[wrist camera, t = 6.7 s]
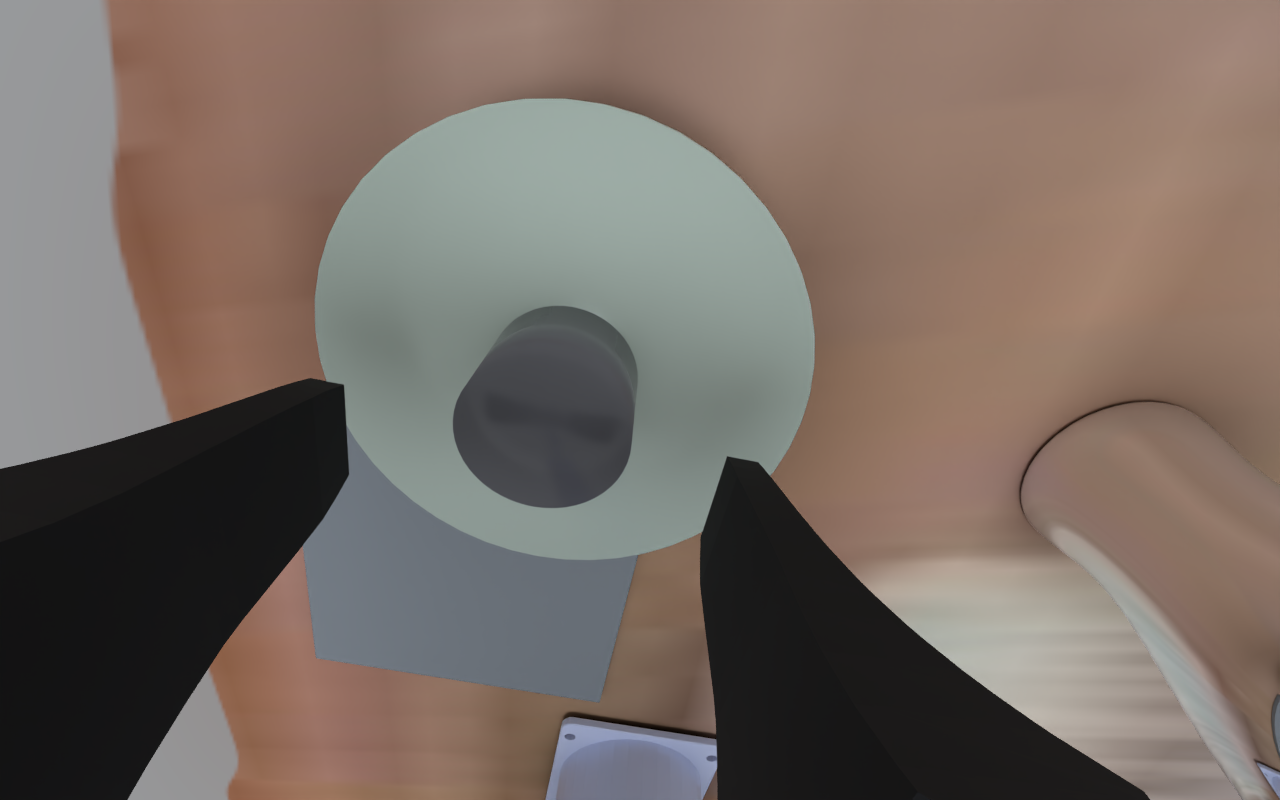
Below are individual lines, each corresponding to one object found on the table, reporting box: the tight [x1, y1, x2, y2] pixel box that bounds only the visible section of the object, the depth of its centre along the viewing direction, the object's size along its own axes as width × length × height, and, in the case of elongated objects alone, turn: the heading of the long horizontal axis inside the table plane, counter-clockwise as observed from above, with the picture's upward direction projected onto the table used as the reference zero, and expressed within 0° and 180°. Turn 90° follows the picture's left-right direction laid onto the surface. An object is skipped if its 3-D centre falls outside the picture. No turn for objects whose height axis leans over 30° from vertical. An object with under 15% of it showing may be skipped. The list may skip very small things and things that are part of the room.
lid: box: [315, 99, 815, 560], centre depth 13 cm, size 12×12×3 cm
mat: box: [303, 425, 638, 702], centre depth 23 cm, size 13×13×1 cm
